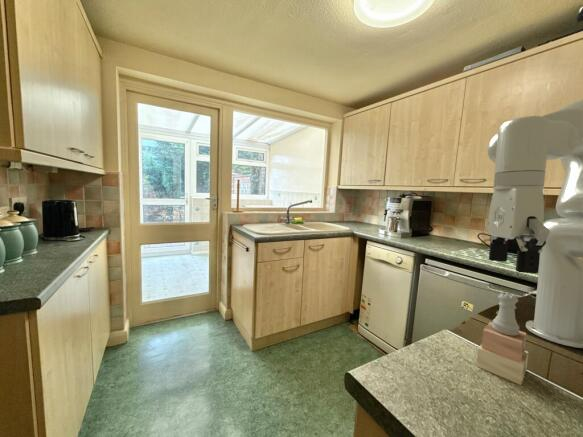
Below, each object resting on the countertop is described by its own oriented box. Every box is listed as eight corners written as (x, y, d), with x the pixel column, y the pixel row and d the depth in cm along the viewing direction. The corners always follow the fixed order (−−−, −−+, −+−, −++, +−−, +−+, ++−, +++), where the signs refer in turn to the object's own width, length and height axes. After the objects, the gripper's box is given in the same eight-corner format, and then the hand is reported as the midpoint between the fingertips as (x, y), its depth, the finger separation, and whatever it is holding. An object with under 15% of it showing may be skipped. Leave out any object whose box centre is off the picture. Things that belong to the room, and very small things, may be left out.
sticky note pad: (485, 353, 57) (487, 320, 56) (526, 370, 52) (530, 333, 51) (476, 366, 52) (479, 329, 52) (521, 385, 47) (525, 344, 47)
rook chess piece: (525, 338, 49) (529, 299, 48) (499, 335, 50) (502, 296, 49) (510, 327, 53) (513, 291, 53) (486, 324, 54) (489, 289, 54)
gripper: (476, 185, 59) (471, 256, 60) (523, 178, 42) (515, 276, 43) (513, 185, 57) (507, 258, 58) (578, 178, 40) (568, 280, 41)
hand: (510, 266), depth 51 cm, fingers open, 9 cm apart
